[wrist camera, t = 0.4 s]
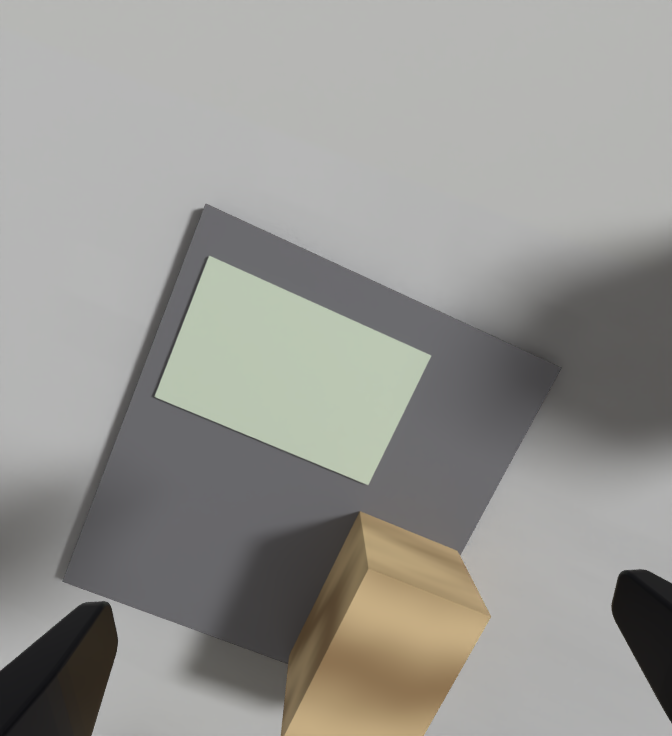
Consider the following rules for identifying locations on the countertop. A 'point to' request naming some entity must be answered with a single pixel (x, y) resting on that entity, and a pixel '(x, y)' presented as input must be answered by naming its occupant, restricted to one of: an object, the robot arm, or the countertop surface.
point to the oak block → (382, 637)
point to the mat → (292, 436)
